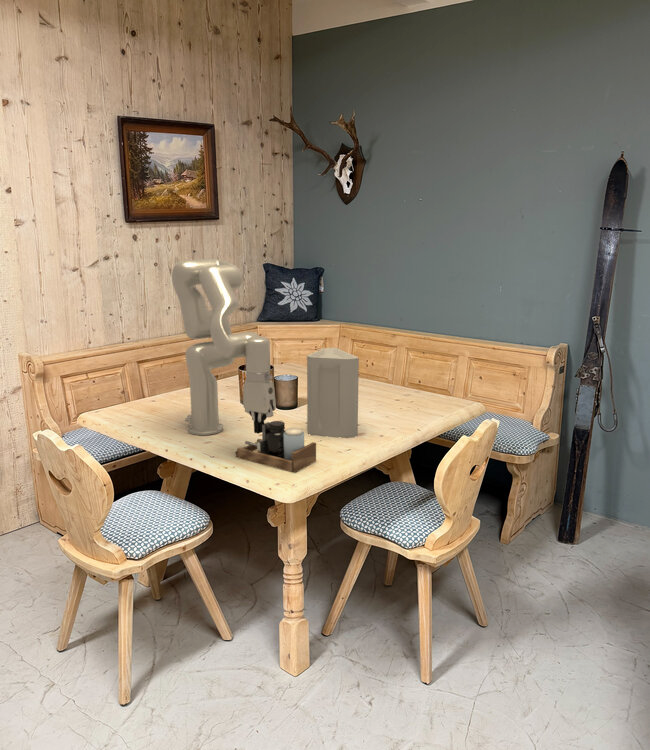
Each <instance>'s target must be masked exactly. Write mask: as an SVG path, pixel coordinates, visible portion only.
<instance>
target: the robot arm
mask: <svg viewBox="0 0 650 750" xmlns="http://www.w3.org/2000/svg"><path fill="white" fill-rule="evenodd" d="M243 279H244V278H243V275H242V271H241V270H240V268H239V267H238V266H237V265H235V264H234V263H230V262H228V261H224V260H222V259H219V258H205V259H204V258H203V259H187V260H186V259H185V260H182V261H178V262H177V263H175V264H174V266H173V267H172V271H171V282H172V286H173V289H174V291H175V294H176V296H177V298H178V302H179V305H180V306H179V307H180V311H181V316H182V320H183V321H182V322H183V325H184V326H183V327H184V331H185V334H186V336H187V337H188V338H189V339H190V340H203V339H210V338H211V340H212V341H204V342H197V343H194V344H191V345H189V347H187V349H186V351H185V361H186V366H187V371H188V375H189V376H188V377H189V390H190V392H189V393H190V394H189V395H190V413H189V414H187V416H186V417H185V419H184V421H185V422H188V423H189V425H188V426H187V432H188V433H189V434H191V435H196V436H209V435H210V436H211V435H215V434H218V433H221V432H222V431H224V425H223V424H222V423H221V422H220V419H219V417H220V415H219V392H218V389H219V387H218V380H217V378H216V376H215V375H214V374H213V372H212V371H211V370H213V369H218V368H224V367H228V366H230V365H232V364H233V363H234V361H235V359H239V358H245V379H244V384H243V391H242V405H243V408H244V412H245V413H247V414H248V415H250V417H251V420H252V421H253V432H254V433H255V434H261V433H262V424H264V423H265V421H266V420H267V418H272V417H274V411H276V408H277V401H276V392H275V386H274V382H273V375H272V374H271V345H270V344H271V343H270V342H271V341H270V339H269V338H268V337H265V336H261V335H259V334H258V333H255V332H251V331H248V332H247V331H246V332H239V333H233V332H232V329H231V323H230V321H229V318H228V317H229V316H231V315H232V314H233V313H234V312H235V311H237V309H238V307H239V300H238V298H237V296H236V295H235V292H234V291H233V290H237V289H240V288H241V287H242V285H243ZM196 285H201V287H202V289H203V292H204V295H205V296H206V298H207V301H208V302H209V305H210V307H211V308H212V310H211V309H210V310H208V309H207V307H206V300H205V297H204V295H203V294H202V292H200V290H199V289H198V288H196ZM232 333H233V334H232Z"/></svg>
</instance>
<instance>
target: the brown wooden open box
mask: <svg viewBox="0 0 650 750" xmlns="http://www.w3.org/2000/svg"><path fill="white" fill-rule="evenodd" d="M260 440H262V438H258V439H257V440H256V441H255V442H254V443H257V442H258V441H260ZM254 450H255V451H254ZM235 458H238V459H242V460H245V461H250V462H252V463H255V464H256V463H257V464H261V465H264V466H268V467H272V468H275V469H280V470H283V471H286V472H287V471H288V472H291V473H297V472H299V471H300V470H303V469H304V468H307V467H308V466H310V465H311V464H313V463H315V462H317V442H310V443H308V444H307V445H304V447H303V448H301V449H299V450H297V451H295V452H293V453H292V461H291V460H287V459H283V458H279V457H275V456H271V455H267V454H263V453H259V452H257V447H256V446H252V445H248V444H247V445H246V446H244V447H237V448H236V450H235Z"/></svg>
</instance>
